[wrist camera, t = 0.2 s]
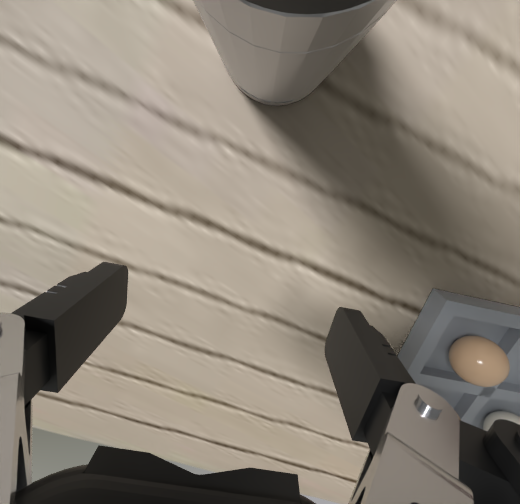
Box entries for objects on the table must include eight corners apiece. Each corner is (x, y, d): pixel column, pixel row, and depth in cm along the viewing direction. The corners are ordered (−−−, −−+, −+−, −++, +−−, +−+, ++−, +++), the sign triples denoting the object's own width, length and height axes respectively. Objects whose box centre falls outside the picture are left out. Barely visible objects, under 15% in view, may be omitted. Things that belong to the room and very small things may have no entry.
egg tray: (433, 288, 29) (447, 300, 27) (601, 324, 31) (627, 338, 29) (364, 418, 37) (371, 435, 34) (502, 442, 38) (517, 461, 36)
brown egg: (451, 322, 30) (486, 354, 25) (493, 330, 30) (535, 364, 25) (430, 356, 31) (460, 393, 27) (470, 364, 32) (505, 402, 27)
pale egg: (485, 398, 34) (521, 439, 29) (522, 405, 34) (562, 446, 29) (465, 425, 36) (496, 467, 31) (500, 431, 36) (535, 474, 31)
